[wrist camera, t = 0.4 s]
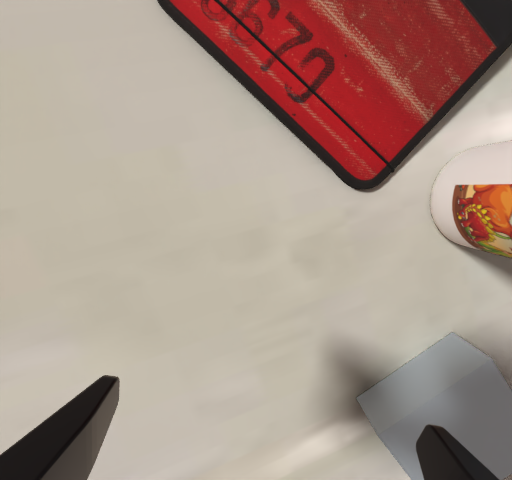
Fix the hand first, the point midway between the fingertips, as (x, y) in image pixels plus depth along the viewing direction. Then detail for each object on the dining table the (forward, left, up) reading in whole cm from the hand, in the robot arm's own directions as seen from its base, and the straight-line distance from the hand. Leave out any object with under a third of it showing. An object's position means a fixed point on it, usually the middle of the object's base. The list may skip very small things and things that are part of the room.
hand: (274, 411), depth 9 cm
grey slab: (+6, -20, -15) cm, 26 cm away
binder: (+16, +11, -16) cm, 25 cm away
